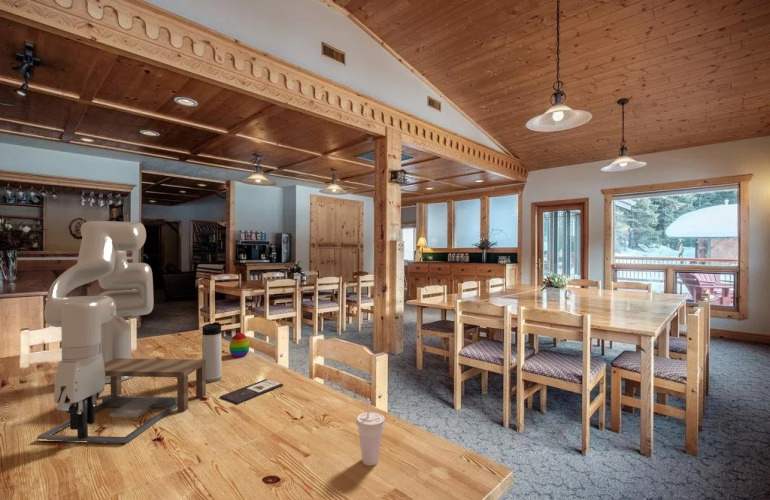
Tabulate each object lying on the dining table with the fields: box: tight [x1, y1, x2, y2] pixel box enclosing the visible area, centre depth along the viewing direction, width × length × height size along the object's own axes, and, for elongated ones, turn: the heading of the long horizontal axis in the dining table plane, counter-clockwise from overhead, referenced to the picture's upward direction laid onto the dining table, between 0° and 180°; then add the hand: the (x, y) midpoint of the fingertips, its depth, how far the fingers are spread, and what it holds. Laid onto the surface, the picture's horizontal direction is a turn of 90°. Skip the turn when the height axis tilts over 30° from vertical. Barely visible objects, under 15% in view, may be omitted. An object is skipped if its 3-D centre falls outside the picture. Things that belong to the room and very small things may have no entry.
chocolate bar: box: [219, 378, 284, 405], centre depth 123 cm, size 9×1×18 cm
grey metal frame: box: [36, 395, 177, 444], centre depth 101 cm, size 22×22×12 cm
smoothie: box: [355, 398, 386, 466], centre depth 84 cm, size 6×6×14 cm
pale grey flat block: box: [109, 404, 153, 418], centre depth 108 cm, size 8×6×2 cm
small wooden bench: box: [104, 357, 207, 413], centre depth 115 cm, size 30×12×12 cm, turn 88°
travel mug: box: [201, 321, 223, 383], centre depth 134 cm, size 6×7×20 cm
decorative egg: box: [228, 332, 250, 358], centre depth 163 cm, size 8×8×10 cm
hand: (82, 425), depth 91 cm, fingers closed on grey metal frame, 2 cm apart
